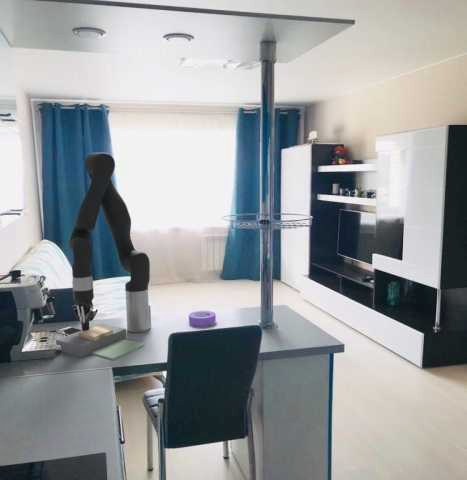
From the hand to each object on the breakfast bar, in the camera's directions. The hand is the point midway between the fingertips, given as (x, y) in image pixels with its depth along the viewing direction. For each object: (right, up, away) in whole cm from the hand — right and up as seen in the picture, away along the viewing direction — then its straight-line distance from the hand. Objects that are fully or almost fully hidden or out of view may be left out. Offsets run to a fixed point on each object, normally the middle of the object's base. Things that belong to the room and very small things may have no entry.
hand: (85, 331), depth 182 cm
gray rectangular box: (+3, -5, -1) cm, 6 cm away
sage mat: (+15, -6, -7) cm, 17 cm away
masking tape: (+44, -1, +23) cm, 50 cm away
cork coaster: (+5, -1, -3) cm, 6 cm away
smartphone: (-9, -4, +12) cm, 15 cm away
